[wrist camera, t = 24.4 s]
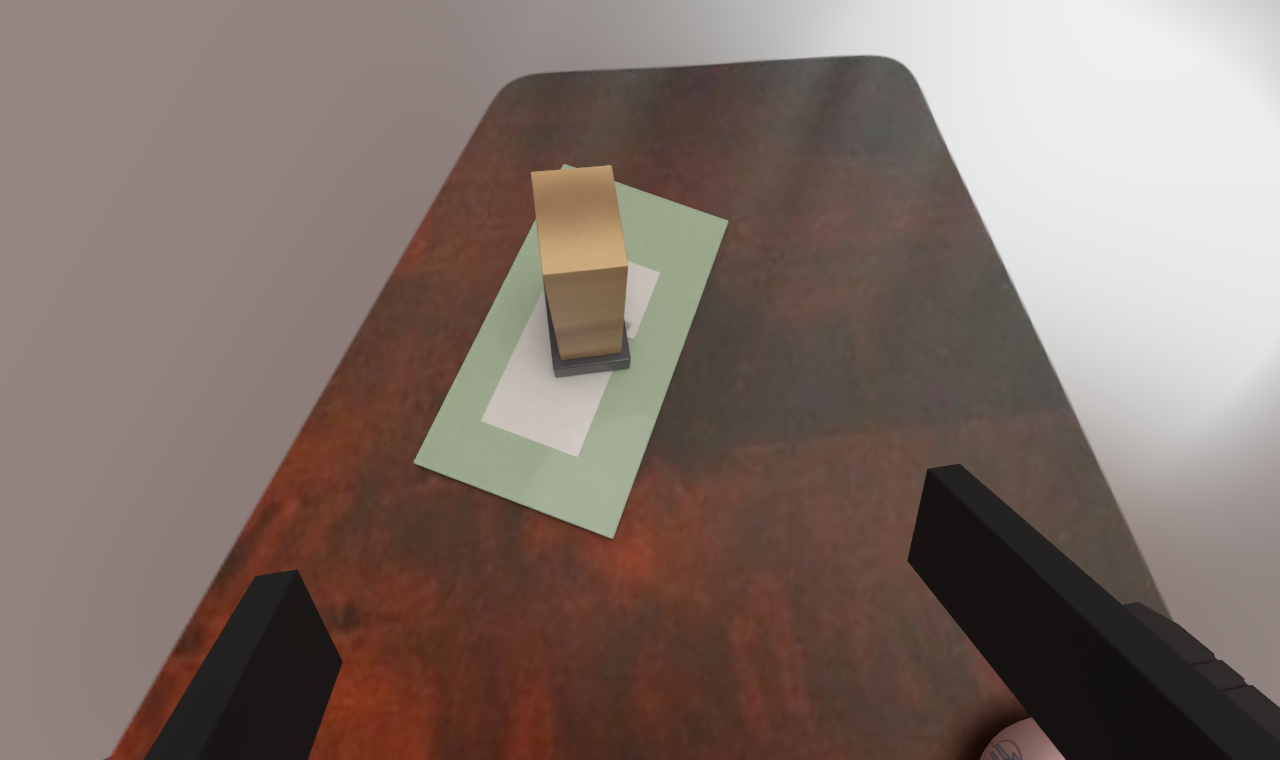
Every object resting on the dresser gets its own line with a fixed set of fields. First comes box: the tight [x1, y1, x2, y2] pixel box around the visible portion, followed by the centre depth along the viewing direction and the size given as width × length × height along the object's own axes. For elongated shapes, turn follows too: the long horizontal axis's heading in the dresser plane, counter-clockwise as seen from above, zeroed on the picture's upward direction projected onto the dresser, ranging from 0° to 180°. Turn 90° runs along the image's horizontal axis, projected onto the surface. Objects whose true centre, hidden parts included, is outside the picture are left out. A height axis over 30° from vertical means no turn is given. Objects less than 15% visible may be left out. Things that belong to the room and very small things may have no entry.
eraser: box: [531, 165, 631, 377], centre depth 28 cm, size 6×4×12 cm
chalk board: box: [413, 164, 728, 539], centre depth 34 cm, size 22×12×1 cm, turn 160°
